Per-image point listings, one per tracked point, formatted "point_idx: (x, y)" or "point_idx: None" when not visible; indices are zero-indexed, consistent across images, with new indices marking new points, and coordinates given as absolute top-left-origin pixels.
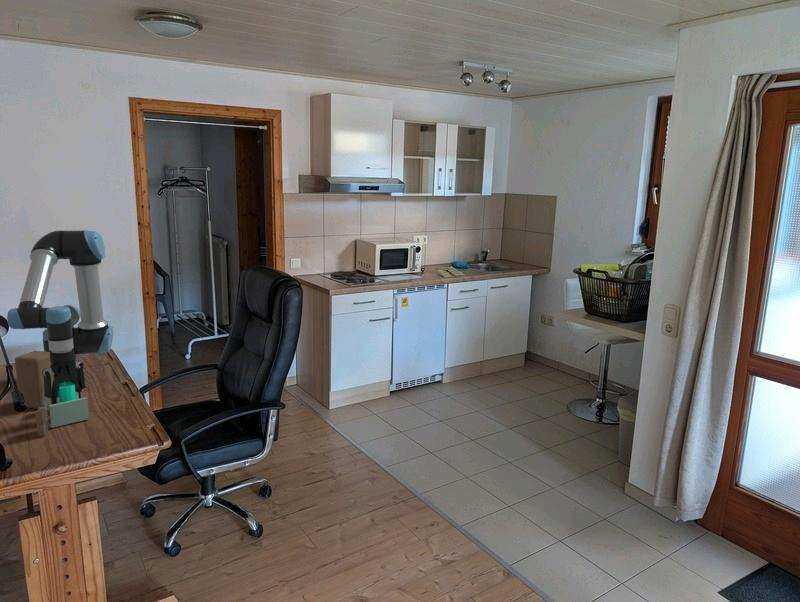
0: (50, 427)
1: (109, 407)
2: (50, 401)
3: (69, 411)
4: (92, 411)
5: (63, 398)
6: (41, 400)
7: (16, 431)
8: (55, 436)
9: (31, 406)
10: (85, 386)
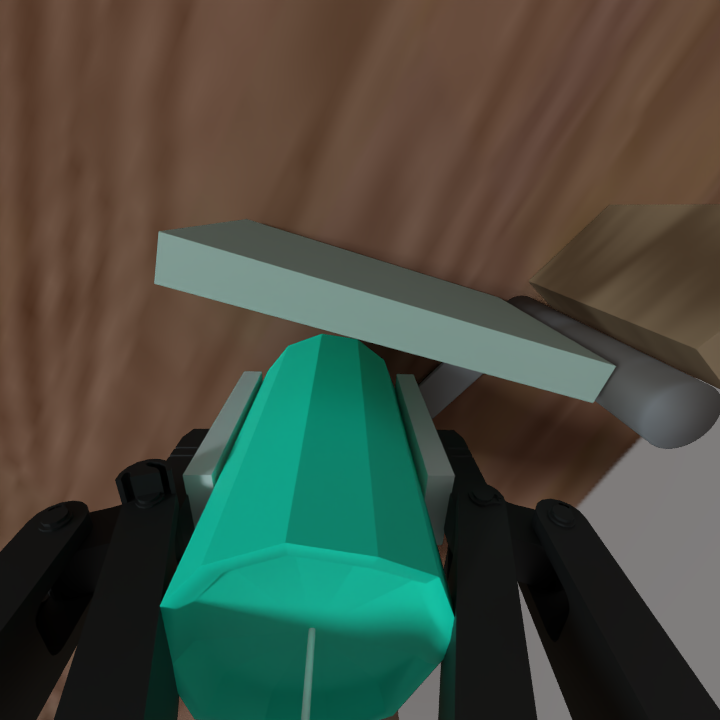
0: None
1: (28, 329)
2: None
3: (395, 278)
4: (158, 358)
5: (394, 442)
6: None
7: (599, 427)
8: (575, 139)
9: None
10: (30, 520)
